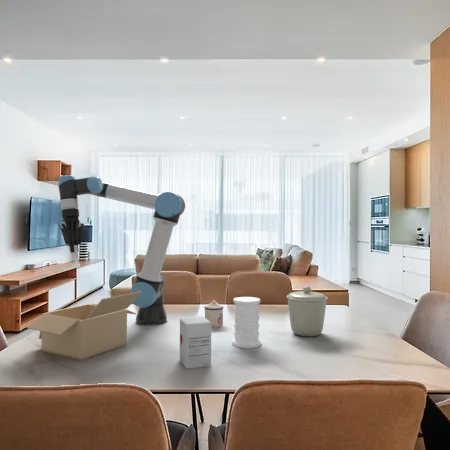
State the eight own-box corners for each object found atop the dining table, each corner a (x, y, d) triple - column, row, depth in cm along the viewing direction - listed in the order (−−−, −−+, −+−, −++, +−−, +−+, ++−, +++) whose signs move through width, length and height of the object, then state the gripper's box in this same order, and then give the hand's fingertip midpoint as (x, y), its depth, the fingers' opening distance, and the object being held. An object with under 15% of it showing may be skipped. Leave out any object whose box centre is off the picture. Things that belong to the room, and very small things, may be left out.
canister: (296, 326, 183) (296, 282, 183) (333, 332, 172) (333, 285, 172) (279, 334, 168) (279, 286, 168) (318, 342, 158) (318, 290, 158)
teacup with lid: (221, 327, 179) (221, 302, 179) (202, 327, 180) (202, 302, 181) (225, 321, 191) (225, 298, 191) (207, 321, 192) (207, 297, 192)
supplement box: (178, 360, 134) (179, 318, 135) (203, 357, 138) (203, 316, 138) (186, 369, 126) (186, 324, 126) (211, 366, 129) (211, 321, 130)
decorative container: (256, 349, 147) (256, 302, 148) (228, 346, 151) (228, 300, 152) (264, 341, 158) (264, 297, 158) (237, 338, 162) (237, 295, 162)
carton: (16, 354, 139) (16, 315, 140) (95, 331, 171) (95, 299, 172) (63, 367, 127) (63, 324, 127) (139, 340, 159) (139, 305, 159)
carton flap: (86, 317, 134) (102, 298, 130) (126, 307, 151) (141, 290, 147) (87, 318, 134) (102, 299, 130) (127, 308, 151) (142, 291, 147)
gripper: (75, 210, 185) (80, 259, 184) (52, 209, 174) (57, 261, 172) (86, 208, 182) (92, 257, 181) (64, 207, 171) (69, 259, 169)
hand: (75, 259), depth 177 cm, fingers closed
